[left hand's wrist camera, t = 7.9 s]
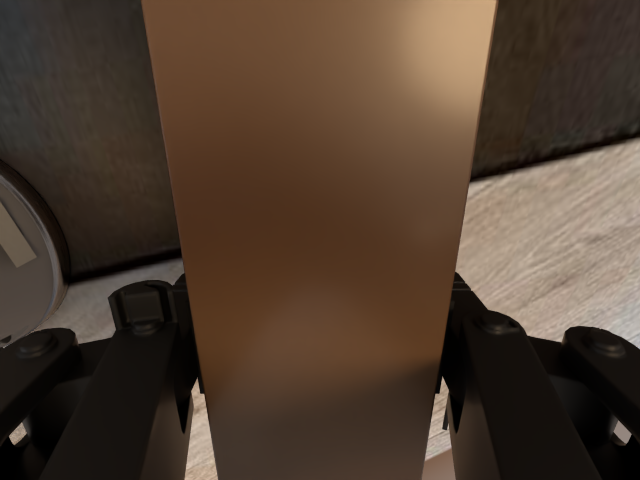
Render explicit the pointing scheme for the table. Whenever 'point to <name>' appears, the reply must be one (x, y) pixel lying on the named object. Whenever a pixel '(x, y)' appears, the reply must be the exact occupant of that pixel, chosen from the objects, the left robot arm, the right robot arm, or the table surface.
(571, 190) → the table surface
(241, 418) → the bar
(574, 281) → the table surface
